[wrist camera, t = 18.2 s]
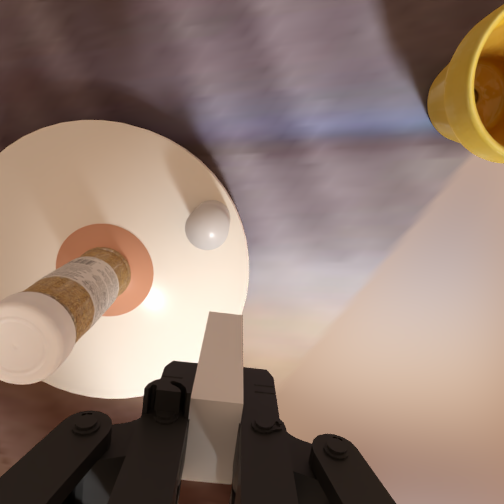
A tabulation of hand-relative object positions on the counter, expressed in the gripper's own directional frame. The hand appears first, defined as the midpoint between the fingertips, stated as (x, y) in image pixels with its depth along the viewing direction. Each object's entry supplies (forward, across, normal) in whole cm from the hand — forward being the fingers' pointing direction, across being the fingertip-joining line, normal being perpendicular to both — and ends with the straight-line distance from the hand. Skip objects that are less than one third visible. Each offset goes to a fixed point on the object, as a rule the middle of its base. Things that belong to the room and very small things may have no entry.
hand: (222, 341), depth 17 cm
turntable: (+18, +10, +2) cm, 21 cm away
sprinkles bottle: (+16, +10, +2) cm, 19 cm away
